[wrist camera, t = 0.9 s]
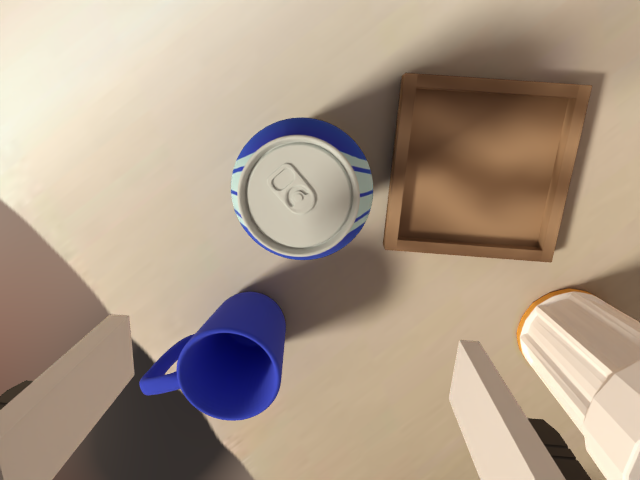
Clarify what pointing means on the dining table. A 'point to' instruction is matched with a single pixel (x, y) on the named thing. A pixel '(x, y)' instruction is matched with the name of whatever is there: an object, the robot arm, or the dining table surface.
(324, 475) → the dining table surface
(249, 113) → the dining table surface
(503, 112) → the tray
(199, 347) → the mug
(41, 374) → the robot arm
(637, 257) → the dining table surface
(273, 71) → the dining table surface
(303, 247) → the beer can
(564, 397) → the cup
